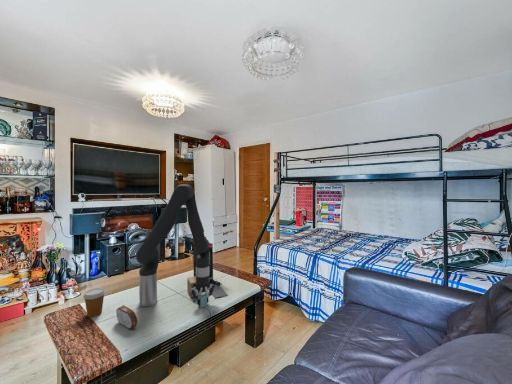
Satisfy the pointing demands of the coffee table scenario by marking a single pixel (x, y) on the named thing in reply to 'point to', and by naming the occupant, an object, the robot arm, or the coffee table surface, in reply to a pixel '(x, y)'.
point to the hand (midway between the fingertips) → (202, 304)
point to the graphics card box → (209, 260)
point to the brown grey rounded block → (126, 317)
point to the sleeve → (191, 285)
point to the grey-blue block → (202, 299)
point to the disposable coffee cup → (94, 301)
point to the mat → (218, 292)
